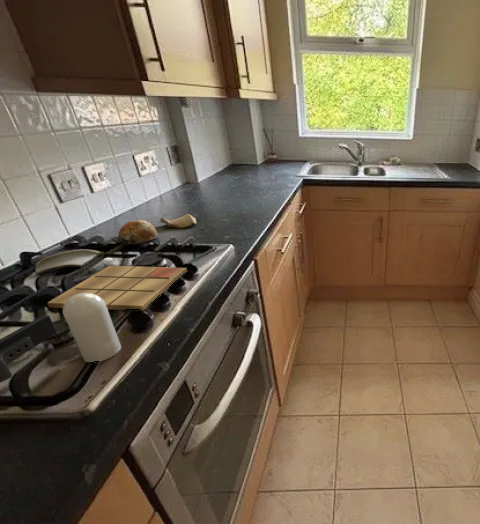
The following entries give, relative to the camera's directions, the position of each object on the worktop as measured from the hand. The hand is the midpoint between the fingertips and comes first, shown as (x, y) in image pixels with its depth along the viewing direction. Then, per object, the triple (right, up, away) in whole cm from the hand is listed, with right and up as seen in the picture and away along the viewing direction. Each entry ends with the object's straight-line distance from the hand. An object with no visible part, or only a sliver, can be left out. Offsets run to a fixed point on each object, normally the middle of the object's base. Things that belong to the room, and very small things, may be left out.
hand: (5, 318), depth 43 cm
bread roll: (-25, +15, +62) cm, 68 cm away
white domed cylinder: (+1, -8, +15) cm, 17 cm away
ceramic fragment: (-32, +7, +45) cm, 55 cm away
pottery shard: (-20, +21, +75) cm, 81 cm away
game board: (-10, +1, +35) cm, 36 cm away
